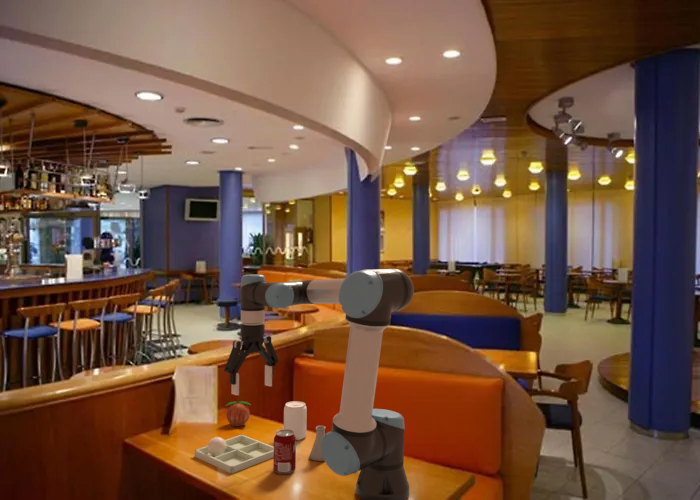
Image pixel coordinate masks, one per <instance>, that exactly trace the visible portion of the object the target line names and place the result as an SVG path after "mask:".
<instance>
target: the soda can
mask: <svg viewBox="0 0 700 500" xmlns="http://www.w3.org/2000/svg"><path fill="white" fill-rule="evenodd" d="M273 447H274V457H273V471H274V472H275V473H277V474H279V475H289V474H291V473H293V472H294V471H295V470H296V468H297V467H296V464H297V463H296V461H297V459H296V458H297V456H296V455H297V451H296V450H297V440H296V437H295V435H294V431H292V430H289V429H284V428H283V429H278V430H276V432H275V436H274V437H273Z"/></svg>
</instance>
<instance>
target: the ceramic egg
mask: <svg viewBox="0 0 700 500" xmlns="http://www.w3.org/2000/svg"><path fill="white" fill-rule="evenodd" d="M225 440H226V439H224V438H223V437H220V436H215V437H212V438H211V439H210V440H209V441H208V443H207V445H206V446H207V449H208V452H209V454H210V455H212V456H214V457H216V456H219V455H222V454H223V453H224V452H225V450H226V442H225Z"/></svg>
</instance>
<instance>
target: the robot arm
mask: <svg viewBox="0 0 700 500" xmlns="http://www.w3.org/2000/svg"><path fill="white" fill-rule="evenodd" d="M240 278H241V279H240V323H241V324H240V336H241V340H240V341H239V340H233V341H232V348H231V351H230V352H229V355H228V358H227V361H226V364H225V366H224V367H225V368H224V370H223V371H224V373H227V374H229V384H230V385H231V389H230V390H231V393H230V394H231V395H234V396H240V374H239V373H238V371H239V370H240V368H241V367H242V365H243V363H245V360H246V358H247V357H248V356H249V355H250V354H254V353H258V354H259V355H260V356H261V358H262V359H263V361H264V362H265V365H264V386H267V387H273V375H274V367H275V366H277V363H279V358H278V355H277V354H276V353H277V352H276V350H275V348H274V346H273V343H272V336H271V335H265V332H266V331H265V329H266V328H265V327H266V326H265V323H266V322H265V320H266V319H265V312H266V309H265V307H267V308H273V309H287V308H288V307H290V306H291V307H292V306H298V305H315V304H317V305H318V304H319V305H320V304H321V305H323V304H326V305H327V304H328V305H330V304H333V305H336V304H339V305H341V307H340V308H341V310H342V312H343V313H344V314H345V321H346V322H347V324H348V325H349V334H348V335H349V336H348V342H347V350H346V356H345V358H346V359H345V365H344V366H345V367H344V374H343V375H344V376H343V383H342V389H341V392H342V393H341V397H340V399H341V400H340V407H339V412H338V413H336V414H335V415H334V416H333V417H332V425H331V431H327V432H326V433H325V435H324V437H323V438H322V441H321V452H322V456H323V458H324V460H325V461H324V462H325V463H326V464H325V465H326V466H327V467H328V468H329V470H331V472H333V473H335V474H336V475H338V476H342V477H347V476H350V475H353V474H356V473H358V472H359V474H358V477H357V480H356V484H355V492H356V495H357V496H358V497H359V498H360V499H361V500H406V499H408V498H409V495H410V484H409V481H408V477H407V473H406V469H405V465H404V462H405V461H404V457H405V455H404V454H405V430H406V426H405V418H404V416H403V414H401V413H399V412H396V411H393V410H389V409H382V408H374V403H375V402H374V401H375V395H376V388H377V381H378V380H377V379H378V373H379V366H380V365H379V363H380V357H381V350H382V344H383V343H382V342H383V334H384V330H385V329H387V328H389V326H390V325H391V319H392V313H395V312H399V311H401V310H404V309H405V308H407V307H408V306H409V304H410V303H411V302H412V301H413V297H414V292H415V286H414V283H413V280H412V279H411V277H410V276H409V275H408V274H407V273H406V272H405V271H403V270H401V269H397V268H381V269H380V268H377V269H368V268H367V269H362V270H356V271H353V272H352V273H351V272H350V274H349V275H347V276H346V277H345V278H331V279H329V278H327V279H315V280H314V279H306V280H298V281H297V280H296V281H295V280H294V281H278V282H268V281H266V277H265V275H263V274H259V273H257V274H253V273H252V274H243V275H242V276H241V277H240ZM264 322H265V323H264Z"/></svg>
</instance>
